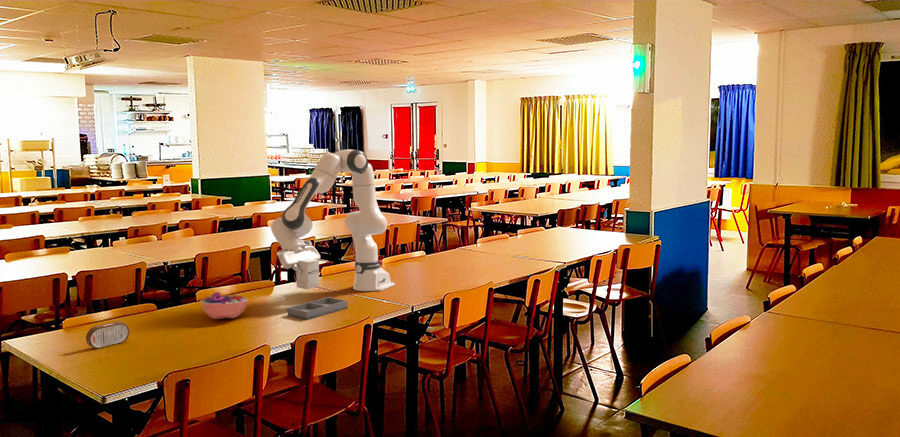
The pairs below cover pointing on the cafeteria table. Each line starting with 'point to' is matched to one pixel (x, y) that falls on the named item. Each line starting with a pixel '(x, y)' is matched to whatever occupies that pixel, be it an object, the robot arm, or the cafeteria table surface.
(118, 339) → the tin
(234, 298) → the cell model
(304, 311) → the grey divided tray
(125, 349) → the cafeteria table surface
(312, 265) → the supplement box
